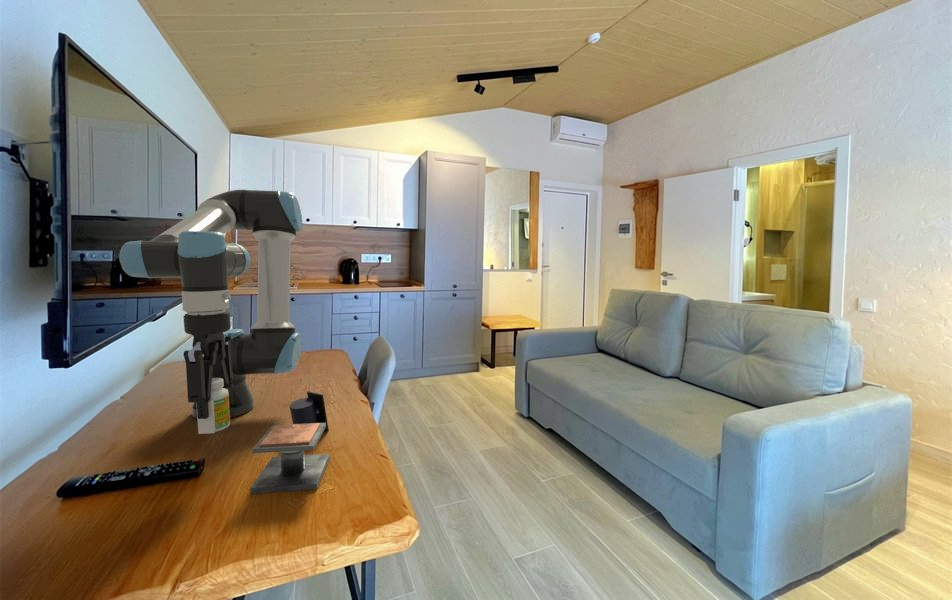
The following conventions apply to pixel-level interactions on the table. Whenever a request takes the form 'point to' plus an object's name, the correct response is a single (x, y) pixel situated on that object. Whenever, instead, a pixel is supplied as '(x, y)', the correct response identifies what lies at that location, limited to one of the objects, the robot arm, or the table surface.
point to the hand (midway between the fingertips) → (214, 425)
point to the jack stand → (291, 459)
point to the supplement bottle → (220, 404)
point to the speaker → (309, 410)
